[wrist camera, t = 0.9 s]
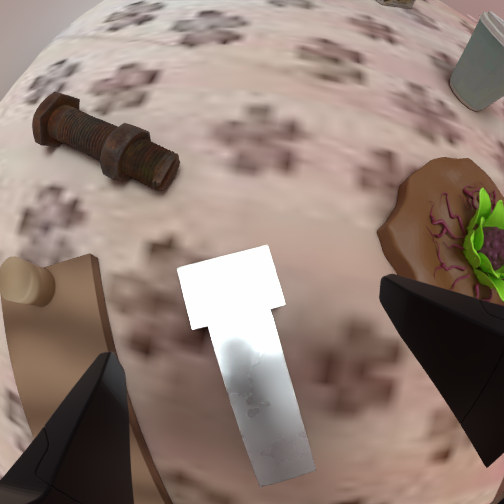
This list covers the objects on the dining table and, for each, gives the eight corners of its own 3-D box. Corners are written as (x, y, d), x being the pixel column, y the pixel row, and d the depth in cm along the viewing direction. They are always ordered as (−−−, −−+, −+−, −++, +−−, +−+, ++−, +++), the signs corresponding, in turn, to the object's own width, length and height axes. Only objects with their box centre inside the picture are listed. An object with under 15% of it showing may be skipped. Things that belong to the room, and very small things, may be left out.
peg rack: (189, 534, 16) (182, 572, 11) (93, 533, 15) (72, 561, 9) (97, 258, 21) (64, 237, 16) (9, 284, 20) (-30, 273, 15)
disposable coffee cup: (447, 63, 32) (489, 3, 18) (495, 109, 31) (546, 57, 16) (429, 82, 30) (482, 8, 15) (486, 138, 29) (551, 77, 14)
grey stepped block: (318, 450, 19) (330, 465, 16) (243, 472, 18) (245, 490, 15) (262, 255, 22) (267, 244, 20) (183, 275, 22) (177, 267, 19)
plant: (446, 139, 28) (500, 84, 17) (530, 266, 25) (593, 243, 14) (341, 238, 24) (416, 173, 13) (457, 397, 21) (545, 412, 10)
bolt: (172, 201, 25) (61, 143, 25) (197, 147, 24) (79, 98, 24) (139, 207, 19) (22, 140, 20) (169, 138, 18) (41, 88, 18)
